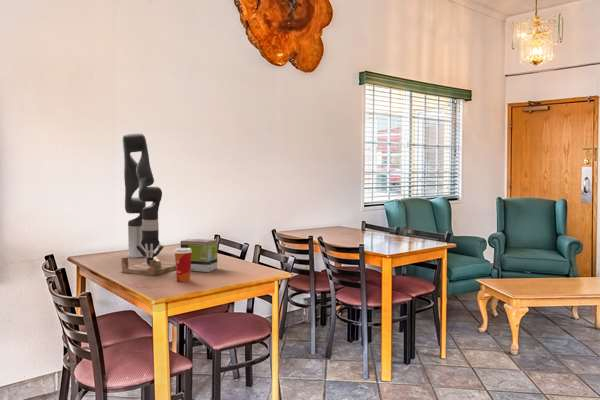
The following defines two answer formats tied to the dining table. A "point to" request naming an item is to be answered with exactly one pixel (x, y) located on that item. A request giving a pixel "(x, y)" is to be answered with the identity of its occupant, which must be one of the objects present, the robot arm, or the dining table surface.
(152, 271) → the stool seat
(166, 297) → the dining table surface
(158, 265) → the tan curved wooden piece
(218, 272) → the dining table surface
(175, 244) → the dining table surface
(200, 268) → the tea box
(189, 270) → the paper cup
